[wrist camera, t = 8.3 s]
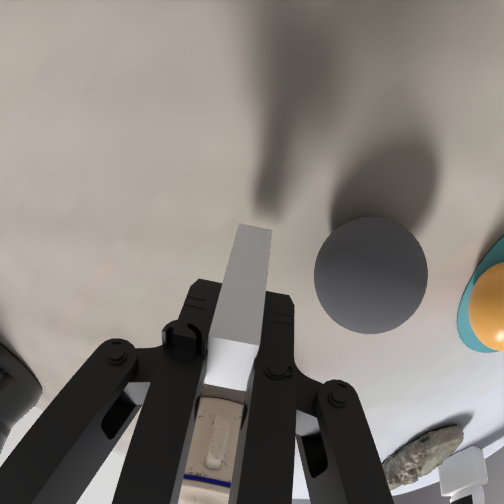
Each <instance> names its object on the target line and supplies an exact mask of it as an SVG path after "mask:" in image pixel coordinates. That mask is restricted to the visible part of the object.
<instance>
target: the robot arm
mask: <svg viewBox="0 0 504 504" xmlns="http://www.w3.org/2000/svg"><path fill="white" fill-rule="evenodd" d="M271 236H272V230H270V229H265V228H260V227H254V226H249V225H244V224H239V226H238V229H237V233H236V237H235V240H234V244H233V247H232V251H231V254H230V258H229V262H228V265H227V269H226V272H225V276H224V280H223V283H218V282H213V281H208V280H203V279H198V280H197V281H196V282H195V283H194V284H192V285H191V286H190V289H189V291H188V294H187V298H186V299H185V302H184V305H183V307H182V310H181V313H180V315H179V318H178V320H175V321H172V322H170V323H168V324H167V325H166V326H165V327H164V328H163V330H162V342H163V345H161V346H158V347H154V348H134V346H133V345H132V344H131V343H130V342H129V341H127V340H124V339H110V340H107V341H105V342H104V343H102V344H101V345H100V346H99V347H98V348H97V349H96V350H95V351H94V353H93V354H92V355H91V356H90V357H89V358H88V359H87V361H86V362H85V363H84V364H83V365H82V366H81V368H80V369H79V370H78V371H77V372H76V373H75V375H74V376H73V377H72V378H71V379H70V380H69V382H68V383H67V384H66V385H65V386H64V388H63V389H62V390H61V391H60V392H59V394H58V395H57V396H56V397H55V398H54V400H53V401H52V402H51V403H50V404H49V406H48V407H47V408H46V409H45V411H44V412H43V413H42V414H41V416H40V417H39V418H38V419H37V420H36V422H35V423H34V425H33V426H32V427H31V428H30V429H29V431H28V432H27V433H26V434H25V436H24V437H23V438H22V439H21V441H20V442H19V443H18V445H17V446H16V447H15V449H14V450H13V451H12V452H11V454H10V455H9V456H8V458H7V459H6V460H5V462H4V463H3V464H2V466H1V467H0V504H76V502H77V501H78V500H79V498H80V496H81V495H82V494H83V492H84V491H85V489H86V488H87V486H88V485H89V483H90V482H91V480H92V479H93V477H94V476H95V474H96V473H97V471H98V470H99V468H100V467H101V466H102V464H103V463H104V461H105V460H106V458H107V457H108V455H109V454H110V452H111V451H112V449H113V448H114V446H115V445H116V443H117V442H118V440H119V439H120V437H121V436H122V434H123V433H124V432H125V430H126V429H127V427H128V426H129V424H130V423H131V421H132V420H133V418H134V417H135V415H136V414H137V412H138V411H139V409H140V408H141V406H142V405H143V406H142V409H141V412H140V415H139V418H138V421H137V424H136V427H135V430H134V433H133V436H132V439H131V442H130V445H129V448H128V451H127V455H126V458H125V461H124V464H123V468H122V471H121V474H120V477H119V481H118V484H117V487H116V491H115V494H114V498H113V501H112V504H178V500H179V496H180V491H181V486H182V482H183V477H184V473H185V468H186V464H187V459H188V455H189V450H190V446H191V441H192V437H193V432H194V428H195V424H196V419H197V415H198V410H199V406H200V402H201V397H202V389H203V385H204V383H205V384H209V385H214V386H219V387H224V388H230V389H235V390H241V391H246V396H245V400H244V404H243V407H242V410H241V413H240V415H241V422H240V428H239V435H238V442H237V448H236V455H235V461H234V468H233V474H232V481H231V487H230V493H229V500H228V504H291V503H292V489H293V474H294V456H295V436H296V439H297V444H298V448H299V453H300V457H301V461H302V466H303V470H304V475H305V479H306V484H307V488H308V492H309V497H310V501H311V504H394V502H393V499H392V495H391V492H390V489H389V486H388V483H387V479H386V476H385V473H384V470H383V467H382V464H381V461H380V458H379V455H378V452H377V449H376V446H375V443H374V440H373V437H372V434H371V431H370V428H369V425H368V423H367V420H366V417H365V414H364V411H363V408H362V406H361V403H360V400H359V397H358V394H357V393H356V391H355V389H354V388H353V387H352V386H351V385H350V384H348V383H347V382H344V381H342V380H330V381H327V382H325V383H324V384H322V383H320V382H318V381H315V380H313V379H311V378H309V377H307V376H305V375H304V374H303V373H301V372H300V371H299V369H298V368H297V367H296V364H295V362H294V304H293V302H292V300H291V298H290V296H289V295H285V294H279V293H274V292H269V291H266V284H267V275H268V265H269V256H270V246H271ZM41 395H42V389H41V386H40V385H39V383H38V381H37V380H36V379H35V377H34V376H33V375H32V374H31V373H30V372H29V370H28V369H27V368H26V367H25V366H24V365H23V364H22V363H21V362H20V361H19V360H18V359H17V358H16V357H15V356H13V355H12V354H11V353H10V352H9V351H8V350H7V349H6V348H4V347H3V346H2V345H1V344H0V453H1V451H2V448H3V446H4V444H5V441H6V439H7V437H8V435H9V433H10V431H11V428H12V427H13V426H14V424H15V423H16V422H18V421H19V420H20V419H21V418H22V417H23V416H24V415H25V414H26V413H27V412H28V411H29V410H30V409H31V408H32V407H34V406H35V405H36V404H37V402H38V400H39V398H40V396H41Z"/></svg>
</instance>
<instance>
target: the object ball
mask: <svg viewBox="0 0 504 504" xmlns="http://www.w3.org/2000/svg"><path fill="white" fill-rule="evenodd" d="M468 313H469V321H470V324H471V327H472V330H473V332H474V334H475V335H476V337H477V338H478V339H479V340H480V341H481V342H482V343H483V344H484V345H485V346H487V347H489V348H491V349H493V350H497V351H504V262H502V263H498V264H496V265H494V266H492V267H490V268H489V269H487V270H486V271H485V272H484V273H483V274H482V275H481V276H480V277H479V279H478V280H477V281H476V283H475V285H474V287H473V289H472V292H471V295H470V299H469V306H468Z"/></svg>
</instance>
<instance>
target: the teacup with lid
mask: <svg viewBox="0 0 504 504" xmlns="http://www.w3.org/2000/svg"><path fill="white" fill-rule="evenodd" d="M242 407H243V405H241V404H239V403H236V402H232V401H229V400H224V399H219V398H210V397H201V402H200V406H199V410H198V415H197V419H196V424H195V428H194V432H193V437H192V441H191V446H190V450H189V455H188V459H187V464H186V468H185V473H184V477H183V482H182V486H181V491H180V496H179V500H178V501H179V502H181V503H182V504H228V500H229V493H230V487H231V481H232V474H233V468H234V461H235V455H236V448H237V442H238V435H239V428H240V422H241V415H240V413H241V410H242Z"/></svg>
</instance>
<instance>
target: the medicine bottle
mask: <svg viewBox="0 0 504 504" xmlns="http://www.w3.org/2000/svg"><path fill="white" fill-rule="evenodd" d="M438 471H439V479H440V487H441V495H442V496H452V498H451V499H450V504H485V499H484V492H483V487H481V485H483V484H485V483H487V482H488V476H487V471H486V465H485V460H484V455H483V450H482V449H480V448H478V447H476V446H473V445H472V446H470V447H468V448H466V449H464V450H462V451H459V452H457V453H455V454H453V455H451V456H449V457H447V458H446V459H445V460H444V461H443V463H442V465H439V466H438Z"/></svg>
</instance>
